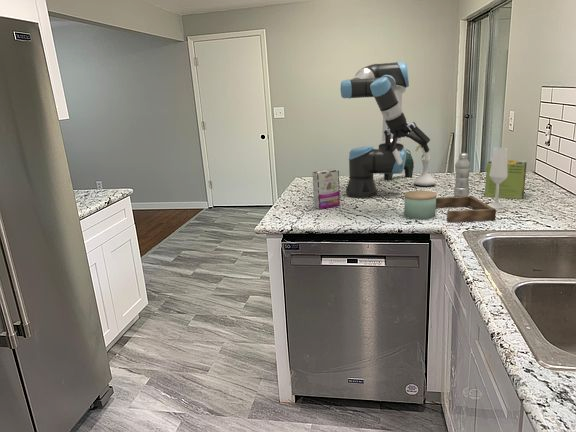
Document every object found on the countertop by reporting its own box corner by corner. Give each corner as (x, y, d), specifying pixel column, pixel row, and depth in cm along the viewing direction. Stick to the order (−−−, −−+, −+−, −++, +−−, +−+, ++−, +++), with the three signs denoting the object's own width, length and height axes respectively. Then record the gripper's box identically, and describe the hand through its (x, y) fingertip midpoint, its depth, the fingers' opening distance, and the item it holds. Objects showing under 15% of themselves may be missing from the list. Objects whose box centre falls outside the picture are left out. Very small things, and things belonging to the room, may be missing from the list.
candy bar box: (334, 203, 201) (333, 168, 197) (340, 205, 197) (339, 169, 193) (313, 207, 196) (311, 171, 192) (319, 209, 192) (317, 172, 188)
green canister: (399, 217, 175) (399, 195, 173) (410, 210, 184) (411, 189, 182) (429, 220, 168) (430, 198, 166) (439, 213, 177) (440, 192, 175)
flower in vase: (420, 182, 238) (421, 135, 232) (440, 184, 230) (442, 136, 224) (407, 186, 229) (408, 138, 223) (427, 188, 221) (429, 138, 215)
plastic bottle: (470, 198, 197) (473, 154, 192) (454, 198, 199) (456, 154, 194) (467, 195, 204) (470, 152, 198) (452, 195, 205) (454, 152, 200)
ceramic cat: (386, 181, 245) (386, 145, 240) (379, 179, 251) (379, 144, 245) (415, 177, 252) (416, 142, 247) (407, 175, 258) (408, 141, 253)
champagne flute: (483, 205, 185) (487, 148, 178) (495, 203, 187) (499, 147, 181) (496, 209, 179) (501, 150, 172) (508, 206, 181) (513, 148, 175)
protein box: (522, 199, 192) (525, 164, 188) (484, 196, 200) (486, 162, 196) (524, 194, 201) (527, 160, 197) (487, 192, 209) (490, 159, 205)
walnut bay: (448, 222, 165) (448, 211, 164) (430, 207, 187) (430, 198, 186) (495, 220, 164) (496, 209, 163) (471, 205, 186) (472, 196, 185)
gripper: (364, 126, 182) (385, 169, 189) (416, 113, 162) (437, 162, 170) (374, 118, 185) (394, 160, 193) (425, 104, 166) (445, 152, 174)
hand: (414, 161), depth 181 cm, fingers open, 13 cm apart
